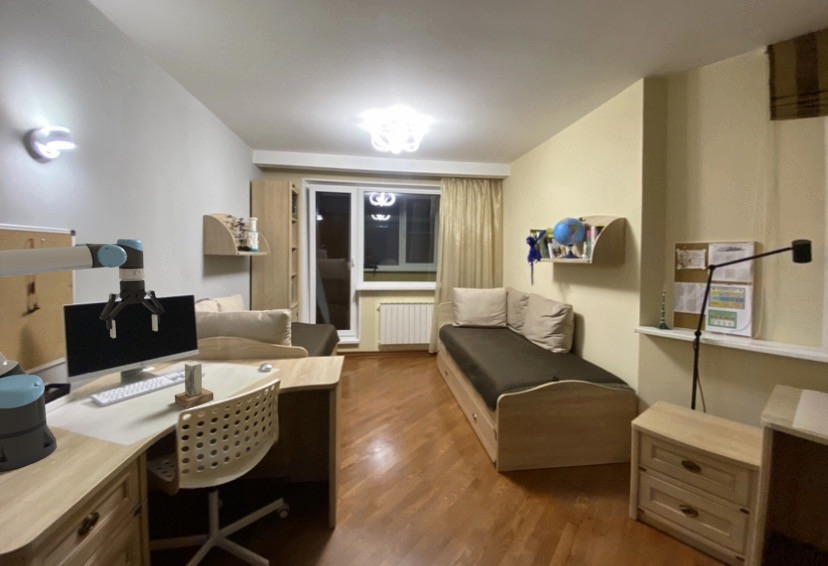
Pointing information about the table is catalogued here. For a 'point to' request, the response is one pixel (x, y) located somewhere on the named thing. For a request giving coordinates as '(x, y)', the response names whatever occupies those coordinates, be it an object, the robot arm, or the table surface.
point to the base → (193, 398)
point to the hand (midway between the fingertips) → (135, 333)
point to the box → (193, 378)
